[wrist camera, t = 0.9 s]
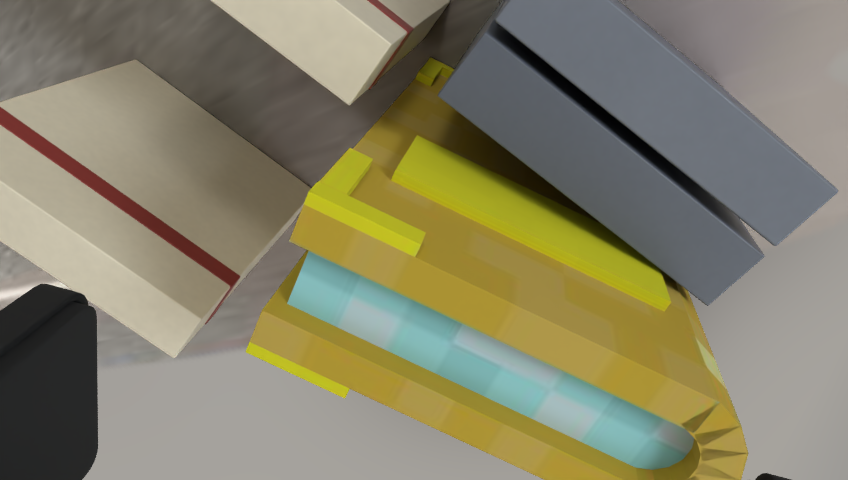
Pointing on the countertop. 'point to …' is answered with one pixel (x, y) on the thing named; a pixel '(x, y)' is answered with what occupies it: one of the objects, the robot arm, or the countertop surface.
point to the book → (495, 309)
